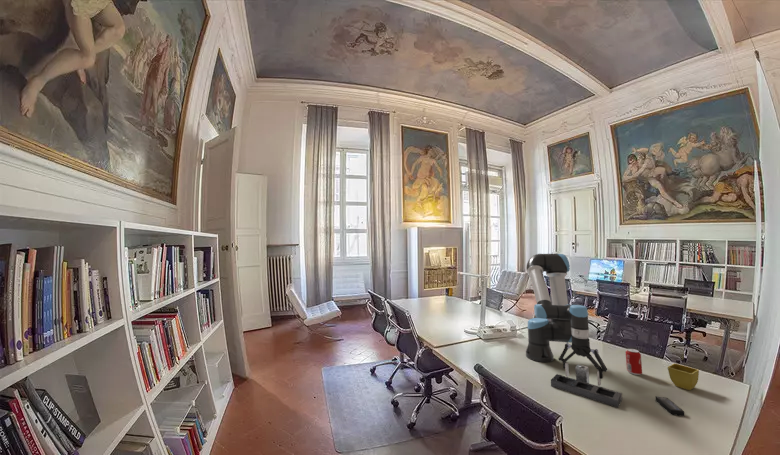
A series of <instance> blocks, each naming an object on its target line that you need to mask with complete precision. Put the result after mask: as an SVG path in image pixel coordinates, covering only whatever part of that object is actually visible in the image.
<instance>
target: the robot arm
mask: <svg viewBox="0 0 780 455" xmlns="http://www.w3.org/2000/svg"><path fill="white" fill-rule="evenodd" d="M570 266H571V265H570V261H569V259H568V257H567V256H566V254H564V253H557V252H555V253H537V254H534V255H532V256H531V257H530V258H529V259H528V260H527V263H526V273H527V275H529V278H530V281H531V285H532V289H533V293H534V297H535V301H536V304H534V306H533V309H534V313H533V314H534V315H535V317H533V318H530V319H528V321H527V336H528V338H527V339H528V340H527V341H528V344H527V347H526V350H525V356H526V357H527V359H529V360H532V361H535V362H541V363H551V362H553V361H554V360H555V359H554V354H553V351H552V349H551V346H550V344H551V343H550V342H558V343H565V344H564V348H563V350H562V352H561V353H560V356H559V357H558V361H560V362H562V368H563V369H564V370H565V377H569V376H570V372H569V371H570V369H569V362H568V360H570V359H571V358H572V357H573V356H574V355H577V356H578V357H579V356H580V357H583V358H585V357H586V358H587V359H588V360H589V361H590V362H591V364H592V365H593V366H594V367H595V369H596V370H597V371H596V376H597V378H596V380H597V386H599V387H601V385H602V379H604V373H606V372H607V371H608V368H607V366H606V364H605V363H604V361H603V360H602V358H601V356H600V354H599V350H598V349H597V348H595V349H591V346H590V330H589V329H590V328H589V326H590V325H589V312H588V308H587V306H585V305H580V304H569V303H568V302H569V300H568V294H567V287H566V278H565V277H566V276H567V275H568V273H569V272H570V270H571V267H570ZM544 272H545V274H546V276H547V277H548V278H549V280H548V281H549V286H550V293H549V289H548V286H547V283H546V280H545V277H544ZM550 295H551V296H550ZM569 343H571V344H569ZM570 348H571V349H572V352H571V353H570V354H569V355H568V356H566V357H565V355H566V353H567V351H568V350H570ZM591 353H592V354H593V355H594V357H593V356H592V354H591ZM564 357H565V358H564ZM594 358H596V359H594ZM596 360H597V361H596Z"/></svg>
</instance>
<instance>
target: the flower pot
mask: <svg viewBox="0 0 780 455" xmlns="http://www.w3.org/2000/svg"><path fill="white" fill-rule="evenodd" d="M667 370H668V372H667V373H668V376H669V378H670V380H671V383H672V384H673V385H674V386H675V387H677V388H681V389H684V390H686V391H692V389H695V387H696V386H697V385H698V382H699V374H700V370H699V369H697V368H694V367H690V366H687V365H682V364H679V363H672V364H671V365H668V366H667Z"/></svg>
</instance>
